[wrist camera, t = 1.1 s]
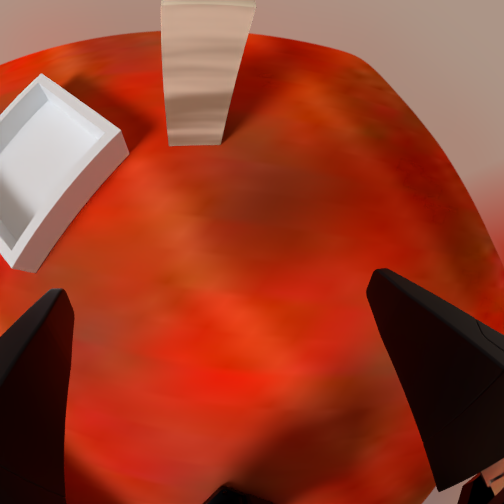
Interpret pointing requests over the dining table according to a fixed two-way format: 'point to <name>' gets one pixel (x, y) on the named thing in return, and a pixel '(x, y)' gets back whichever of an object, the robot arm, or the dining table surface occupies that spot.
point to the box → (49, 168)
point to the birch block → (201, 65)
